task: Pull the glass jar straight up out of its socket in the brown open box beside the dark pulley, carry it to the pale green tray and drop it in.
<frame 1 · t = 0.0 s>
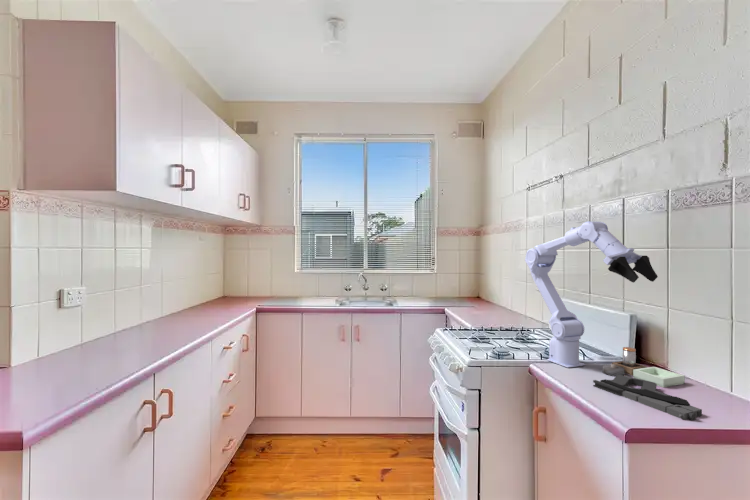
hand: (645, 279, 109), 32 cm above the worktop, tool tilted 50°, fingers open, 7 cm apart
glass jar: (629, 371, 127), resting in brown open box
tray: (658, 380, 118), on the worktop
brown open box: (629, 371, 127), on the worktop
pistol: (651, 399, 105), on the worktop
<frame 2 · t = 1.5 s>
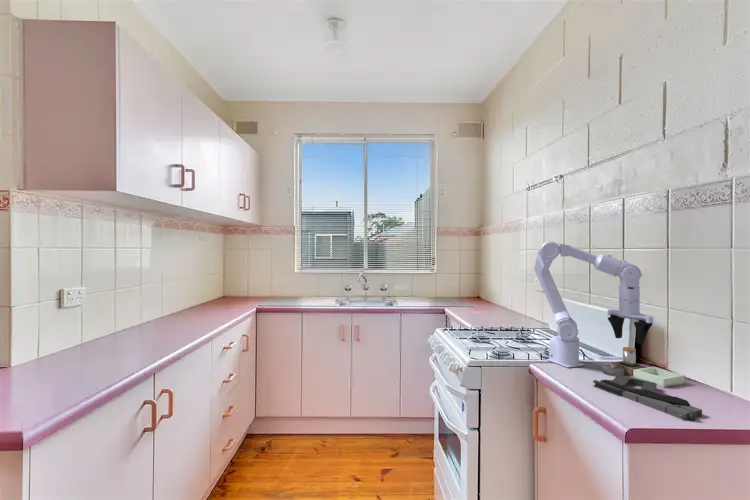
hand: (629, 340, 127), 10 cm above the worktop, tool pointing down, fingers open, 7 cm apart
nothing on the worktop moved.
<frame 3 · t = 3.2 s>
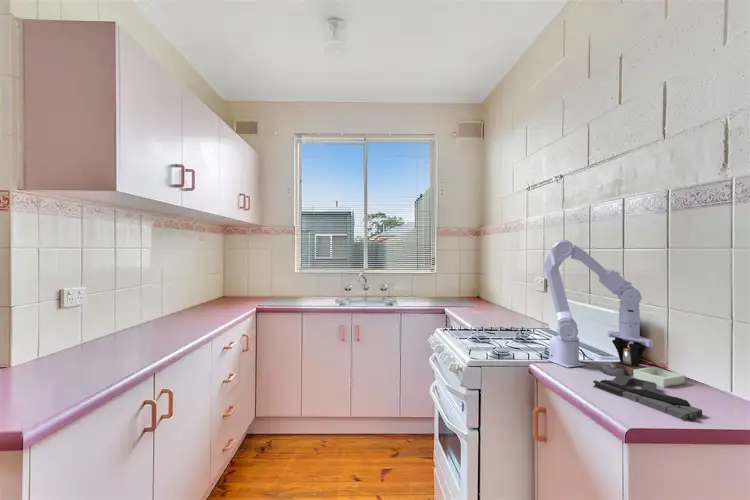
hand: (629, 363, 127), 3 cm above the worktop, tool pointing down, fingers closed on glass jar, 4 cm apart
glass jar: (629, 371, 127), resting in brown open box, touching gripper
everything else where it was.
when the fingers open (4 cm above the worktop, at t = 6.6 s): glass jar stays where it is, resting on tray.
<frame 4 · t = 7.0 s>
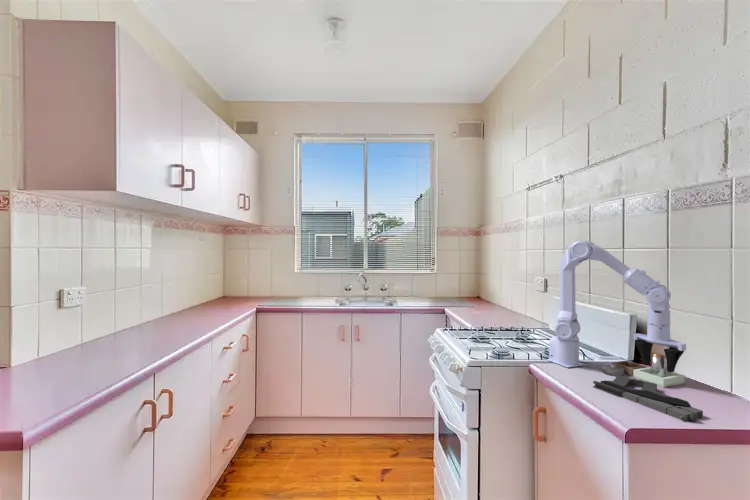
hand: (658, 368, 118), 4 cm above the worktop, tool pointing down, fingers open, 7 cm apart
glass jar: (658, 378, 118), point 1 cm above the worktop, touching tray
everything else where it was.
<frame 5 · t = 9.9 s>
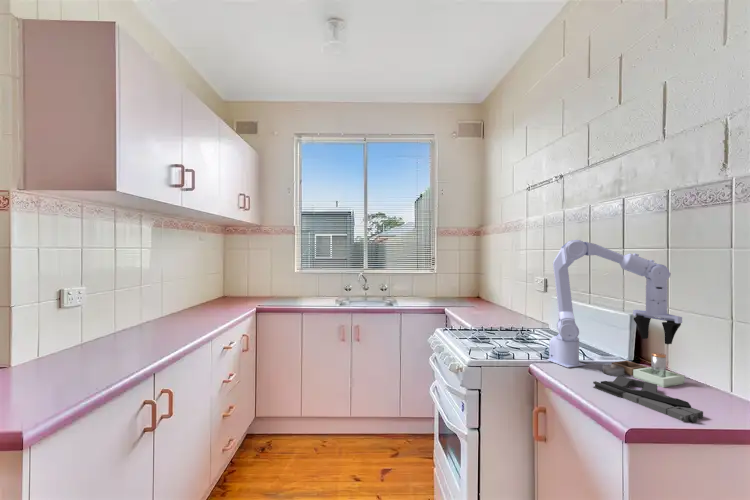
hand: (656, 341, 125), 10 cm above the worktop, tool pointing down, fingers open, 7 cm apart
at the end: glass jar inside the target area on the tray (0.1 cm from its centre), point 0.6 cm above the tray's base; the gripper is holding nothing; glass jar touching tray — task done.
